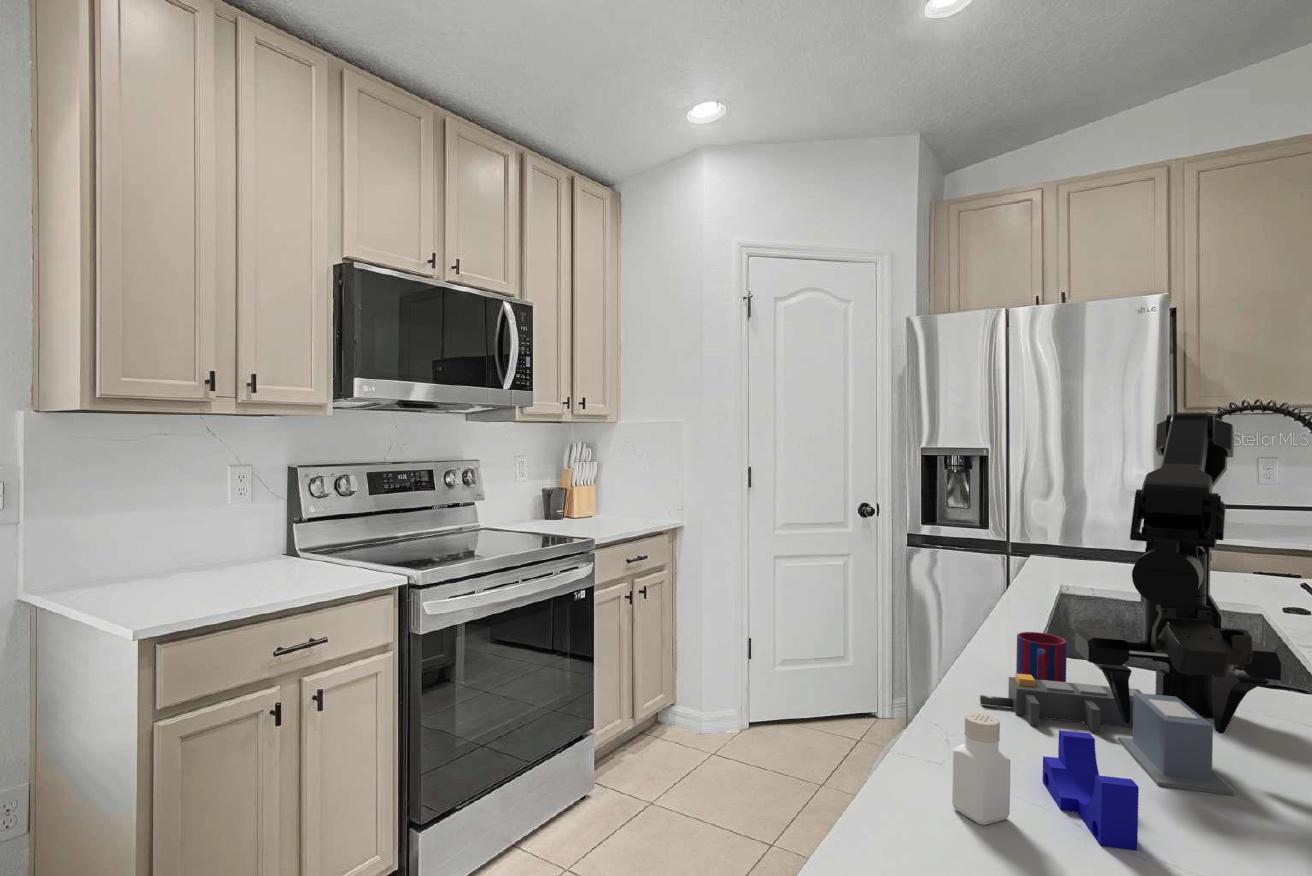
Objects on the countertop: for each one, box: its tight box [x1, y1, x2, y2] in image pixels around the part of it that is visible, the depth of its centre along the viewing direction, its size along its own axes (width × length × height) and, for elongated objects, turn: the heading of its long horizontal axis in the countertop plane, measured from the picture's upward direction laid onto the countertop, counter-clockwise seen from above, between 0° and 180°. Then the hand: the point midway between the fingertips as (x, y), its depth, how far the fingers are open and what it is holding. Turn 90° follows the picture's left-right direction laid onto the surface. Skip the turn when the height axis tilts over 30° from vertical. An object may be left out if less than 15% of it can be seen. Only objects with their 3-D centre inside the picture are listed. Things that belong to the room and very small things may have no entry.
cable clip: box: [1041, 729, 1140, 852], centre depth 71 cm, size 12×4×6 cm, turn 167°
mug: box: [1015, 631, 1068, 682], centre depth 108 cm, size 7×10×7 cm
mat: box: [1117, 736, 1236, 796], centre depth 82 cm, size 7×12×1 cm, turn 165°
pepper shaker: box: [951, 711, 1011, 826], centre depth 70 cm, size 4×4×10 cm
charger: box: [1132, 692, 1214, 781], centre depth 82 cm, size 4×9×6 cm, turn 165°
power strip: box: [979, 672, 1143, 735], centre depth 95 cm, size 20×8×4 cm, turn 75°
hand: (1172, 727), depth 82 cm, fingers open, 9 cm apart
